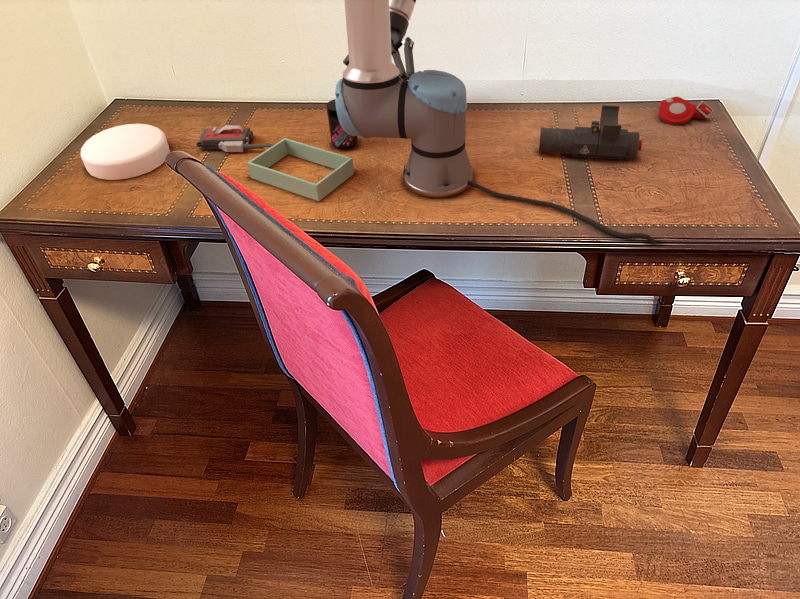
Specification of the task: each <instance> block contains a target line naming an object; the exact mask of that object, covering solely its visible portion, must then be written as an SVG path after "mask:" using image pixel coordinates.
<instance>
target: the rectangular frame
mask: <svg viewBox="0 0 800 599" xmlns="http://www.w3.org/2000/svg"><path fill="white" fill-rule="evenodd" d="M288 155H289V156H292V157H295V158H298V159H302V160H304V161H307V162H311V163H315V164H318V165H321V166H324V167H328V168H331V169H334V170H332V171H331V172H329V173H328V174H327V175H326V176H324V177H323V178H322V179H320V180H319V181H318V182H316V183H314V182H311V181H308V180H306V179H302V178H299V177H297V176H294V175H291V174H289V173H285V172H282V171H278V170H276V169H272V168H270V167H272V166H273V165H274V164H276V163H277V162H279V161H281V160H282V159H283V158H285V157H286V156H288ZM246 164H247V169H248V173H249V177H250V179H252V180H256V181H258V182H261V183H264V184H267V185H270V186H273V187H276V188H279V189H282V190H285V191H287V192H290V193H294V194H295V195H299V196H302V197H305V198H307V199H311V200H314V201H317V202H320V201H321V200H323V198H325V197H326V196H328V195H330V193H332V192H333V191H334V190H335V189H336V188H338V187H339V186H341V184H343V183H344V182H346V180H348V179H349V178H350V177H352V176H353V175H354V174H355V166H354V158H353V157H351V156H346V155H344V154H340V153H337V152H334V151H330V150H327V149H323V148H319V147H317V146H315V145H314V146H313V145H311V144H307V143H303V142H300V141H297V140H294V139H289V138H287V137H284V138H282V139H281V140H280V141H278V142H276V143H275V144H274V145H273V146H272V147H268V148H267V149H266V150H264V151H262V152H261V153H259V154H257V156H255V157H253V158H252V159H250V160H249V161H247V162H246Z"/></svg>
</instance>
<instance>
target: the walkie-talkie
mask: <svg viewBox="0 0 800 599" xmlns="http://www.w3.org/2000/svg"><path fill="white" fill-rule="evenodd" d="M253 139H254V131H252V130H251V128H250V127H248V126H247V127H243V126H242V125H241V124H235V125H233V124H227V125H224V126H223V127H217V126H213V127H210V128H204V129H203V130H202V133H200V136H199V141H198V142H196V143H195V144H196V147H197V148H202V149H203V150H204V151H205V150H208V151H209V150H220V151H223V152H225V153H243V152H244V151H245V150H252V149H253V150H256V149H258V150H259V149H260V150H261V149H264V148H270V147H272V146H273V145H275V144H274V143H256V144H255V143H254V144H253V143H252V144H251V143H250V141H251V140H253Z"/></svg>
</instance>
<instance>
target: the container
mask: <svg viewBox="0 0 800 599" xmlns="http://www.w3.org/2000/svg"><path fill="white" fill-rule="evenodd" d="M168 153H170V154H171V150H170V145H169V143H168V139H167V137H166V133H165V132H164V131H163V130H162V129H160V127H157V126H154V125H151V124H147V123H128V124H121V125H116V126H113V127H110V128H107V129H104V130H102V131H99V132H98V133H96V134H93V135H92V136H91V137H90V138H88V139H87V140H86V141H85V142H84V143H83V145H82V146H81V149H80V158H81V160H82V163H83V165H84V168H85V169H86V171H87V172H88V174H89V175H90V176H91V177H94V178H97V179H99V180H108V181H117V180H118V181H119V180H127V179H131V178H136V177H140V176H142V175H145V174H148V173H150V172H152V171H153V170H155V169H157V168H159V167H160V166H161V165H163V164H164V163H165V162H166V161H165V157H166V155H167V154H168Z"/></svg>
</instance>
